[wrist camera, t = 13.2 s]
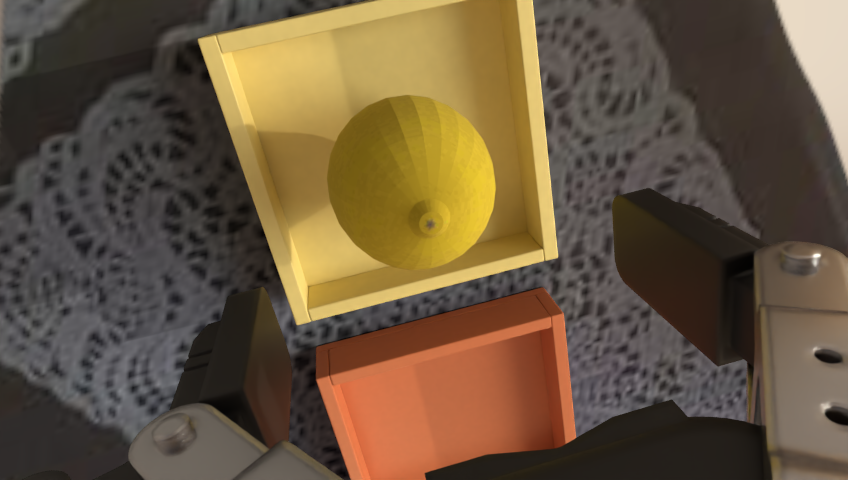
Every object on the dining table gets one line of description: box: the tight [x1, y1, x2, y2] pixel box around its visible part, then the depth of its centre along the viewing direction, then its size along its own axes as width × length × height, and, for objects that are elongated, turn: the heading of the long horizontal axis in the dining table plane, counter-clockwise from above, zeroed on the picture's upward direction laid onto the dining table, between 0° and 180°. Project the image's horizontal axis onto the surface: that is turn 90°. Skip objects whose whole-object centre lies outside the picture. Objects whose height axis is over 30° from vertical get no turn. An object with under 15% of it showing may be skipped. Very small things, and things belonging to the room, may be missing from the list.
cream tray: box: [198, 0, 558, 325], centre depth 22 cm, size 11×11×2 cm
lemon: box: [327, 95, 496, 270], centre depth 19 cm, size 6×6×8 cm
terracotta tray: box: [316, 287, 576, 480], centre depth 28 cm, size 11×11×2 cm
